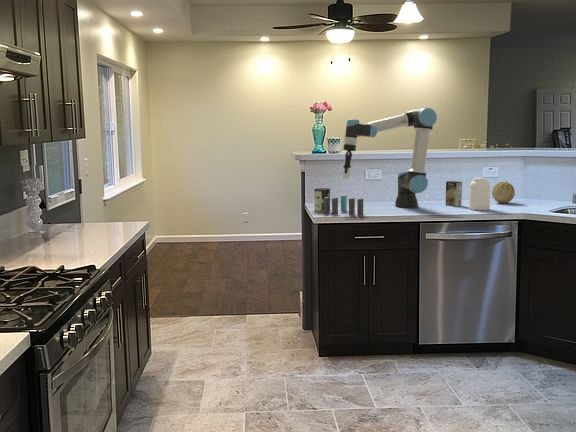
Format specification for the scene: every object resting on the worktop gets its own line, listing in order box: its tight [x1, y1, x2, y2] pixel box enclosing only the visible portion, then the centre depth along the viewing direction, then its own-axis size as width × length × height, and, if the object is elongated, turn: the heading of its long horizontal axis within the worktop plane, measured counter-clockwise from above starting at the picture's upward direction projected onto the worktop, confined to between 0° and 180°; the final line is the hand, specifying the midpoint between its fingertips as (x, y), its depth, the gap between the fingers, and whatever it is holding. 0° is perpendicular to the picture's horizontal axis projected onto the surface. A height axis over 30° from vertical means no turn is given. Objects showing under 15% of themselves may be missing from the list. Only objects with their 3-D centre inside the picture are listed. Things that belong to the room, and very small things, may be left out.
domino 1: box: [323, 196, 331, 215], centre depth 380 cm, size 2×5×10 cm, turn 154°
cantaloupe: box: [491, 180, 516, 204], centre depth 416 cm, size 15×15×15 cm
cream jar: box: [468, 177, 491, 211], centre depth 387 cm, size 12×12×20 cm
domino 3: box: [348, 197, 356, 216], centre depth 373 cm, size 2×5×10 cm, turn 154°
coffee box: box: [445, 180, 463, 207], centre depth 409 cm, size 9×6×16 cm
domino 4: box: [356, 198, 364, 217], centre depth 370 cm, size 2×5×10 cm, turn 154°
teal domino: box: [340, 194, 348, 213], centre depth 390 cm, size 2×5×10 cm, turn 154°
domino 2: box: [331, 197, 339, 215], centre depth 377 cm, size 2×5×10 cm, turn 154°
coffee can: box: [313, 187, 331, 213], centre depth 394 cm, size 10×10×14 cm
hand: (345, 178), depth 383 cm, fingers open, 13 cm apart
